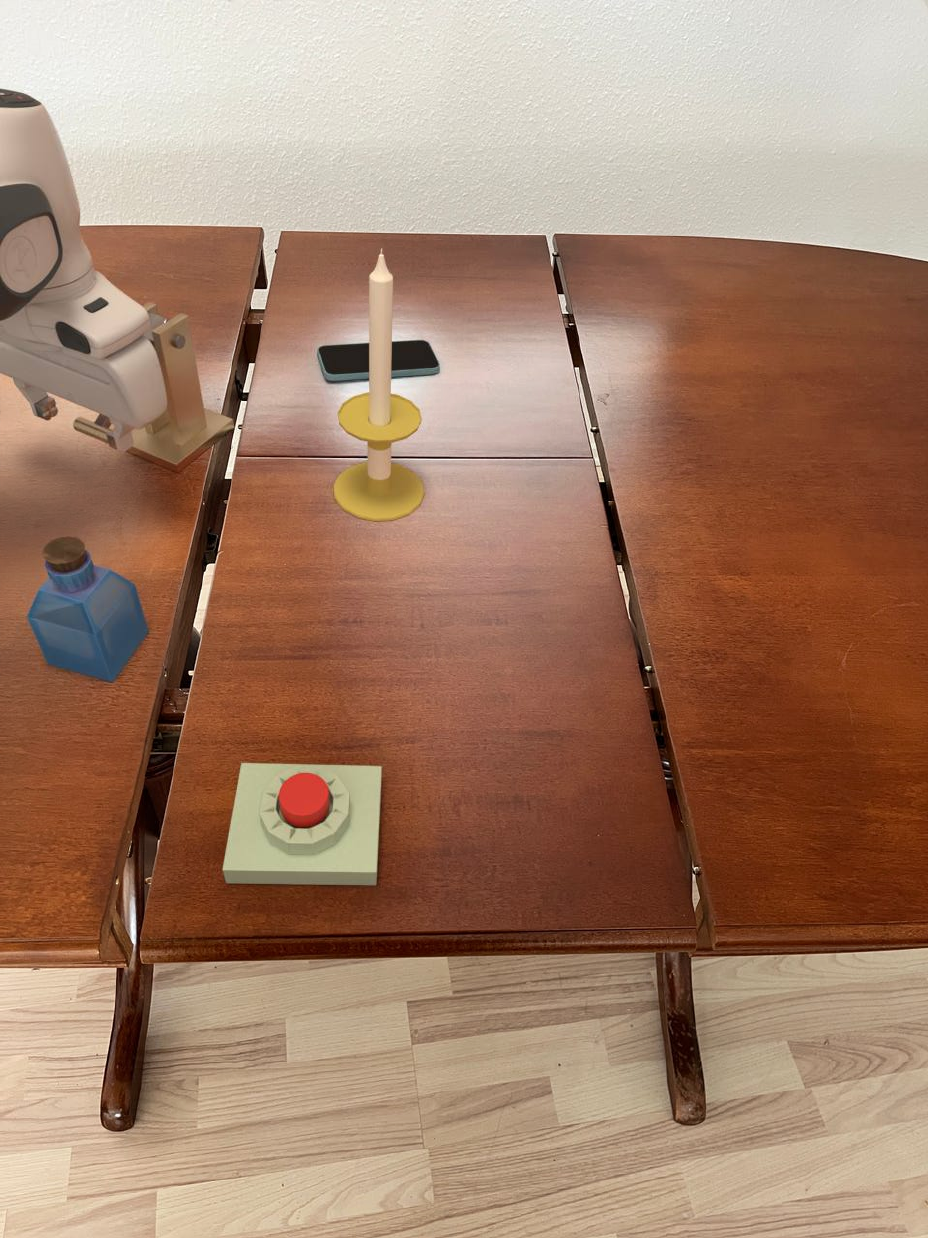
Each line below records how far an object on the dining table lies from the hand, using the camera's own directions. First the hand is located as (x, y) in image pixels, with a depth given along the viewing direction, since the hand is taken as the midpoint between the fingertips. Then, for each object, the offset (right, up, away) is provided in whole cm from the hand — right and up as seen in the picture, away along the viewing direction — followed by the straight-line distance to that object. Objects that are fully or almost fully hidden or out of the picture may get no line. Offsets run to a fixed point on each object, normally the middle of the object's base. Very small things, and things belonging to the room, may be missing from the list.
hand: (84, 431), depth 84 cm
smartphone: (+26, +15, +27) cm, 40 cm away
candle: (+28, -5, +10) cm, 30 cm away
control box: (+25, -35, -18) cm, 47 cm away
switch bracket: (+5, +2, +13) cm, 14 cm away
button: (+26, -32, -21) cm, 46 cm away
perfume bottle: (+5, -21, -8) cm, 23 cm away
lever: (+4, +5, +4) cm, 7 cm away
